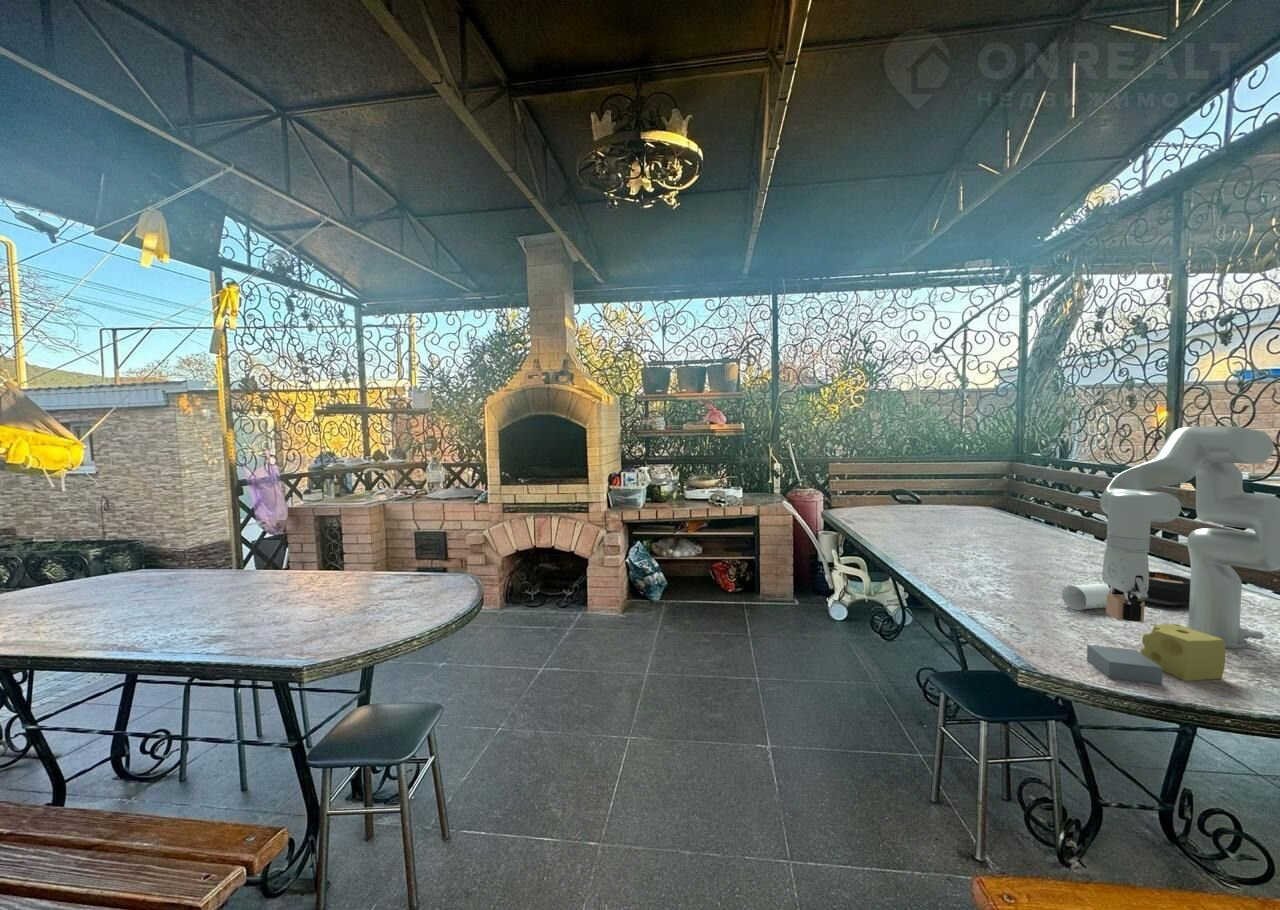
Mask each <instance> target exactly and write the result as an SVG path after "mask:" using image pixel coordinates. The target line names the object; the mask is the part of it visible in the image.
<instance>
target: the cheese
mask: <svg viewBox="0 0 1280 910" xmlns="http://www.w3.org/2000/svg"><path fill="white" fill-rule="evenodd" d="M1187 627H1188V626H1184V625H1181V624H1178V623H1176V624H1175V623H1174V624H1172V623H1170V624H1169V623H1168V624H1165V623H1164V624H1156V625H1153V628H1152V631H1150V632H1149V633H1146V632H1145V633H1144V634H1143V635H1142V637H1141V638H1142V640H1141V643H1142V644H1143V646H1144V647H1143V648H1141V649H1140V650H1139V652H1140V653H1141V654H1143V655H1144V656H1146V657H1147V658H1149V659H1150V660H1152V661H1153V662H1155V663H1156V664H1158V665H1159V666H1161V667H1162V668H1163V670H1162V672H1164V673H1167V674H1168V675H1171V676H1173V677H1175V678H1177V677H1178V678H1177V679H1179V678H1180V680H1181V681H1184V682H1188V681H1189V682H1191V681H1205V680H1217V679H1218V680H1219V679H1222V680H1223V676H1224V672H1225V666H1226V665H1225V664H1226V647H1225V644H1224V640H1223V639H1220V638H1217V637H1214V636H1211V635H1208V634H1205V633H1202V632H1198V631H1195V630H1192V629H1189V628H1187Z"/></svg>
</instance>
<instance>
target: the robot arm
mask: <svg viewBox="0 0 1280 910" xmlns="http://www.w3.org/2000/svg"><path fill="white" fill-rule="evenodd" d="M1273 453H1274V442H1273V439H1272V438H1271V436H1270V435H1269V434H1267V433H1266V432H1264V431H1263V430H1259V429H1258V430H1257V429H1252V428H1247V427H1241V426H1232V425H1231V426H1230V425H1229V426H1225V425H1224V426H1223V425H1222V426H1221V425H1220V426H1218V425H1216V426H1215V425H1214V426H1211V425H1210V426H1205V425H1204V426H1200V425H1199V426H1186V427H1180V428H1177V429H1176V430H1174V431H1172V432H1171V434H1170V435H1168V437H1167V439H1165V441H1164V442H1163V444H1162V445H1161V447H1160V448H1159V449H1158V451H1157V452H1156V453H1155V455H1154V456H1153V458H1152V459H1151V460H1150V461H1145V462H1143V463H1141V464H1138V465H1135V466H1133V467H1131V468H1129V469H1126V470H1124V471H1122V472H1120V473H1118V474H1117V475H1115V476H1114V478H1112V479H1111V481H1109V484H1108V485H1107V486H1106V488H1105V489H1104V491H1103V492H1102V494H1101V496H1100V501H1099V502H1100V503H1099V505H1100V509H1101V510H1102V512H1103V513H1105V514H1106V515H1107V522H1106V523H1107V524H1106V525H1107V527H1106V529H1107V530H1106V548H1105V552H1104V557H1103V562H1102V563H1103V564H1102V572H1101V573H1102V575H1101V579H1102V582H1103V583H1104V584H1105V585H1108V587H1109V594H1119V595H1125V602H1126V603H1123V619H1124V620H1127V621H1126V622H1132V621H1138V622H1137V623H1140V622H1139V621H1141V606H1142V605H1143V602H1145V601H1144V600H1145V599H1146V598H1148V594H1147V591H1148V587H1149V572H1150V566H1149V556H1148V553H1150V547H1151V546H1150V545H1151V544H1150V543H1151V522H1154V523H1168V522H1171V521H1174V520H1175V519H1177V518H1178V517H1179V516H1180V514H1181V511H1182V505H1181V502H1180V501H1181V500H1179V499H1178V498H1177V497H1176V496H1175V495H1173V494H1171V493H1167V492H1163V491H1153V490H1150V489H1157V488H1163V487H1169V486H1174V485H1179V484H1183V483H1186V482H1188V481H1191V480H1192V479H1193V478H1194V477H1195V514H1196V516H1197V518H1198V520H1200V521H1202V522H1203V523H1207V524H1211V525H1218V526H1223V527H1224V526H1227V527H1232V528H1241V529H1242V528H1244V529H1251V530H1253V532H1254V533H1252V532H1243V531H1238V530H1229V529H1221V528H1220V529H1219V528H1211V527H1205V528H1198V529H1194V530H1192V531H1190V533H1189V535H1187V538H1186V539H1187V541H1186V543H1187V550H1188V554H1189V561H1190V562H1189V563H1190V579H1191V580H1190V601H1189V605H1188V623H1187V625H1188V626H1186V627H1187V628H1189V629H1192V630H1195V631H1198V632H1202V633H1205V634H1208V635H1211V636H1214V637H1217V638H1220V639H1223V640H1224V644H1225V649H1239V650H1240V649H1246V648H1247V647H1248V645H1249V643H1248V640H1246V639H1249V638H1250V639H1251V638H1252V639H1256V640H1263V639H1265V636H1264V633H1263V632H1262V631H1257V630H1255V631H1254V630H1251V631H1250V629H1248V628H1243V627H1241V611H1242V609H1241V607H1242V592H1243V591H1242V589H1243V582H1242V579H1241V578H1240V575H1239V574H1238V573H1237V572H1236V570H1235V569H1233V567H1239V568H1245V569H1251V570H1257V571H1265V572H1276V571H1278V570H1280V498H1279V497H1277V496H1275V495H1271V494H1264V493H1251V492H1245V491H1244V488H1243V486H1244V485H1243V475H1244V474H1243V473H1242V471H1241V470H1240V468H1239V467H1238V466H1237V465H1236V464H1246V465H1259V464H1261V463H1262V464H1263V463H1264V462H1266V461H1267V460H1269V459H1270V458H1271V456H1272V455H1273ZM1131 589H1134V590H1136V592H1134V591H1130V590H1131ZM1130 594H1136V596H1132V597H1130Z"/></svg>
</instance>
